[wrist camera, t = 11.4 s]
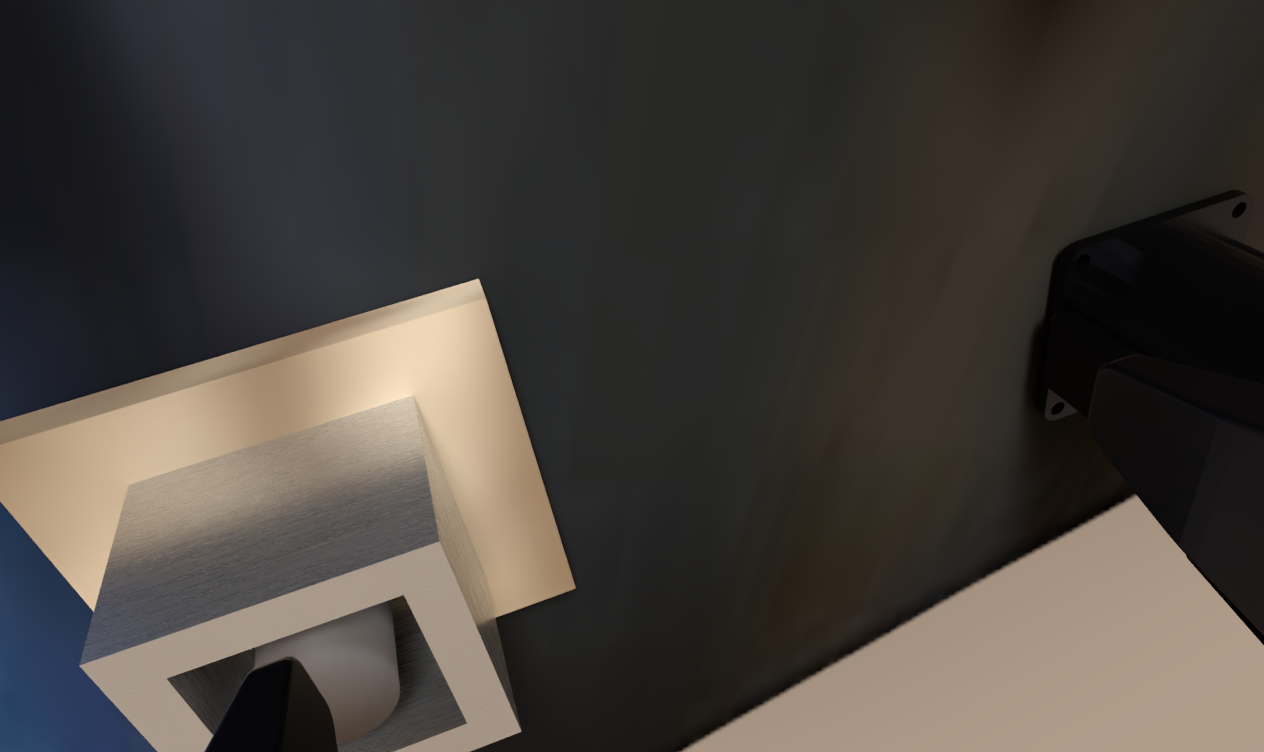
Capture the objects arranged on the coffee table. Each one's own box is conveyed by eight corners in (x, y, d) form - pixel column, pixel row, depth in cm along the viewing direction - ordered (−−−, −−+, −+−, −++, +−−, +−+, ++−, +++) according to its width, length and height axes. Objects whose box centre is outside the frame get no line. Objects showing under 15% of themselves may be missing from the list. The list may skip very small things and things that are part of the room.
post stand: (478, 278, 20) (533, 425, 15) (567, 564, 26) (627, 735, 21) (-22, 428, 18) (-143, 648, 13) (196, 697, 24) (167, 918, 19)
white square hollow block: (413, 395, 20) (439, 541, 16) (485, 576, 23) (521, 731, 19) (128, 484, 19) (79, 665, 15) (251, 659, 22) (239, 840, 18)
